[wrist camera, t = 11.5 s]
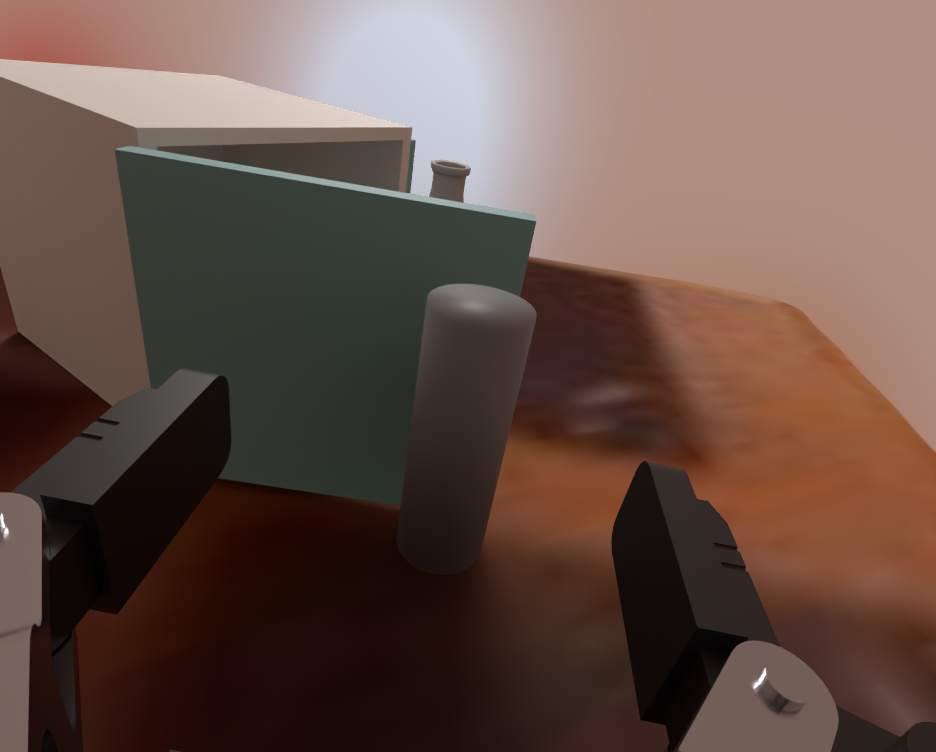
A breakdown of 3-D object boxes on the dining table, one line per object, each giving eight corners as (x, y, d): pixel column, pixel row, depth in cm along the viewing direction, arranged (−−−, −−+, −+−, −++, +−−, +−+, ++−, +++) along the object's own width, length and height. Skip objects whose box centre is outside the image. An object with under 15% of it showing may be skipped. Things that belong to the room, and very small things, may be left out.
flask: (482, 278, 52) (501, 166, 47) (467, 306, 46) (488, 180, 41) (407, 262, 53) (419, 150, 48) (382, 287, 46) (393, 161, 41)
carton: (397, 358, 36) (421, 127, 29) (180, 460, 25) (136, 127, 18) (241, 279, 43) (231, 76, 36) (18, 331, 32) (-58, 54, 25)
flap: (468, 628, 20) (554, 281, 13) (79, 573, 19) (-31, 184, 13) (475, 504, 25) (537, 215, 19) (172, 458, 25) (129, 145, 18)
